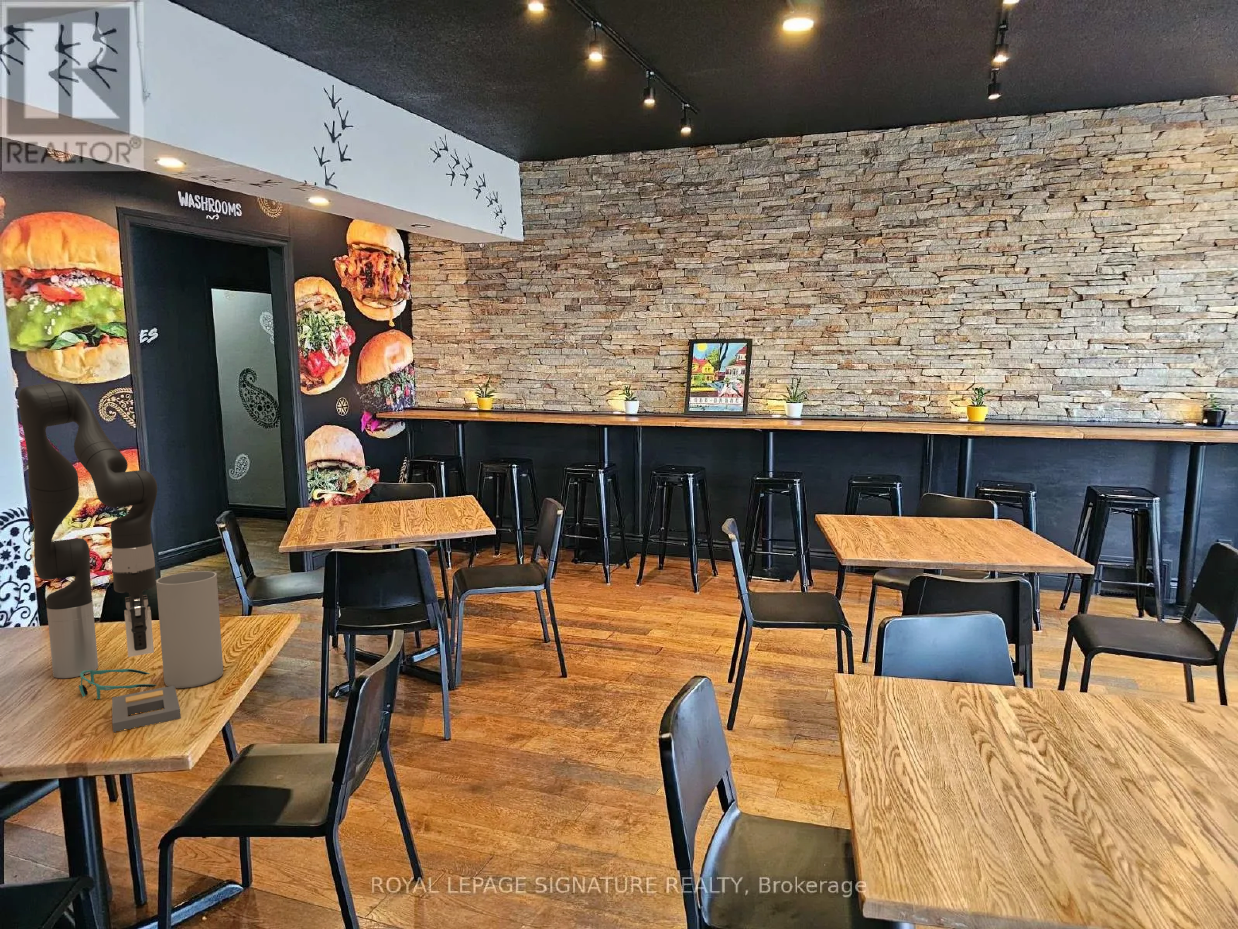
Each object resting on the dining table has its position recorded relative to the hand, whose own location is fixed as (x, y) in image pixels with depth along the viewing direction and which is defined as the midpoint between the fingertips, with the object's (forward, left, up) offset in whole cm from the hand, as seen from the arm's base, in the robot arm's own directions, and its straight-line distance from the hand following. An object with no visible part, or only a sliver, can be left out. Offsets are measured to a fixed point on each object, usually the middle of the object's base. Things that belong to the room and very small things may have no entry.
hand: (140, 646), depth 163 cm
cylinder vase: (-19, +11, -16) cm, 27 cm away
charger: (0, 0, -1) cm, 1 cm away
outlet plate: (-3, 0, -16) cm, 16 cm away
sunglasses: (-24, -5, -16) cm, 29 cm away
